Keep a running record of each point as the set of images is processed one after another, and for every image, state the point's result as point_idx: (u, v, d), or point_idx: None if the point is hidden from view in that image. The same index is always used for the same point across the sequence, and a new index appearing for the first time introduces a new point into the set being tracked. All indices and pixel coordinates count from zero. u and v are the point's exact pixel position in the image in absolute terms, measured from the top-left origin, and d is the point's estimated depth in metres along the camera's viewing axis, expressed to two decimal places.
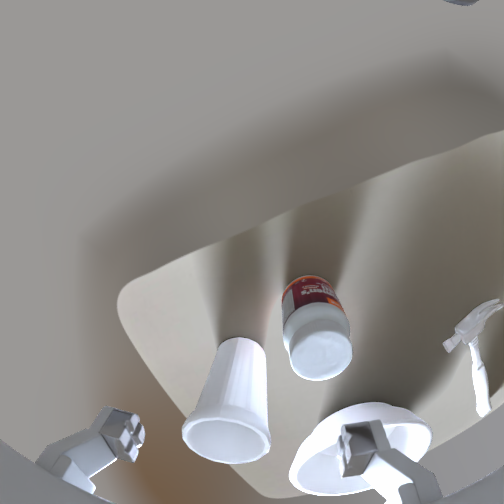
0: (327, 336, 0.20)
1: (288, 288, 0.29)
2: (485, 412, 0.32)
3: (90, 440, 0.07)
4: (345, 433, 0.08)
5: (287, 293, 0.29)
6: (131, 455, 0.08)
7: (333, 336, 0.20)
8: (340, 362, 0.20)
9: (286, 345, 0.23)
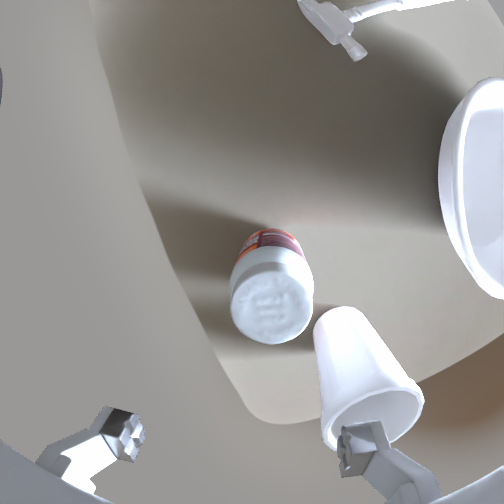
0: (238, 305, 0.17)
1: None
2: None
3: (90, 440, 0.07)
4: (345, 433, 0.08)
5: None
6: (131, 455, 0.08)
7: (239, 298, 0.17)
8: (283, 286, 0.16)
9: None
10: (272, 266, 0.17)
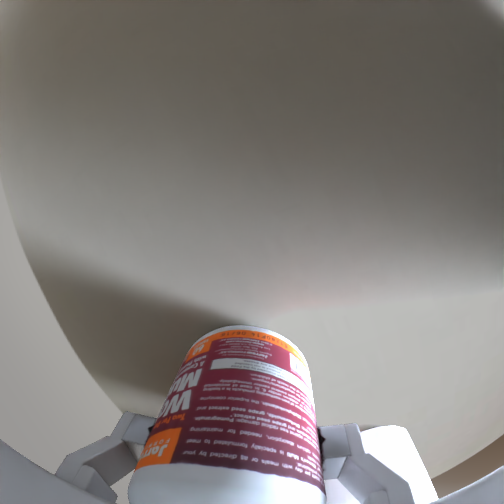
0: None
1: None
2: None
3: (112, 448, 0.07)
4: (319, 436, 0.08)
5: None
6: None
7: None
8: None
9: None
10: None
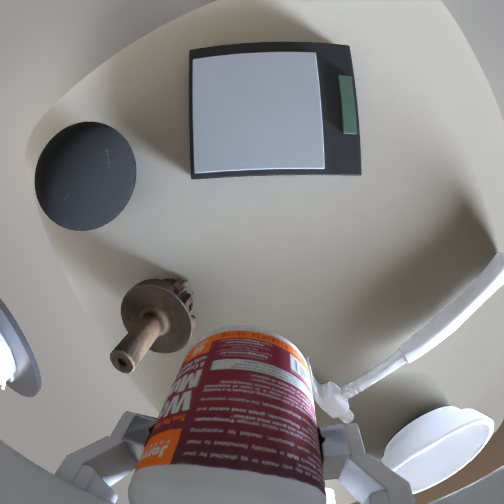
0: None
1: None
2: None
3: (113, 448, 0.07)
4: (319, 436, 0.08)
5: None
6: None
7: None
8: None
9: None
10: None
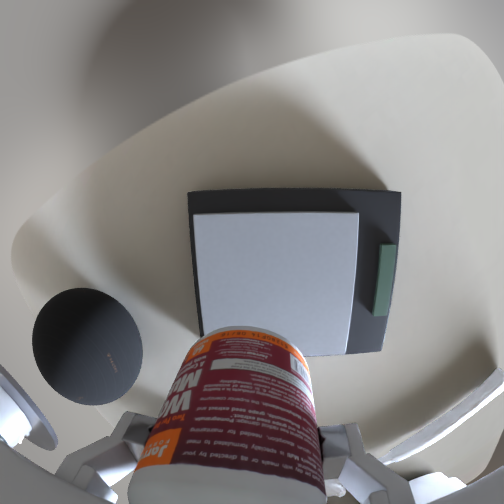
0: None
1: None
2: (501, 389, 0.21)
3: (112, 448, 0.07)
4: (319, 436, 0.08)
5: None
6: None
7: None
8: None
9: None
10: None
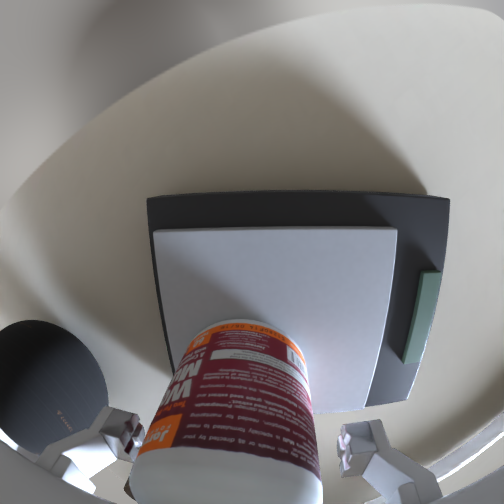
0: None
1: None
2: None
3: (89, 440, 0.07)
4: (345, 433, 0.08)
5: None
6: (131, 455, 0.08)
7: None
8: None
9: None
10: None
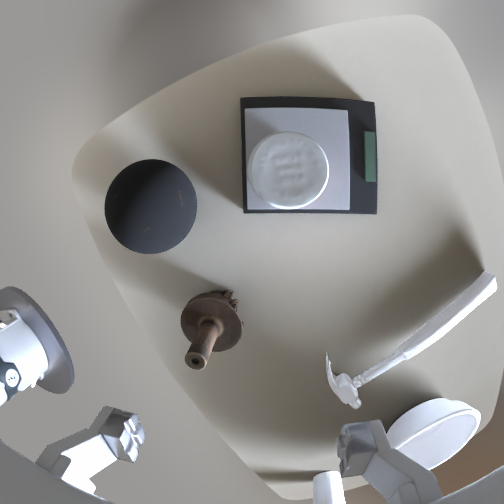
0: (259, 166, 0.17)
1: None
2: (492, 288, 0.29)
3: (89, 440, 0.07)
4: (345, 433, 0.08)
5: None
6: (131, 455, 0.08)
7: (259, 158, 0.17)
8: (299, 145, 0.17)
9: None
10: None
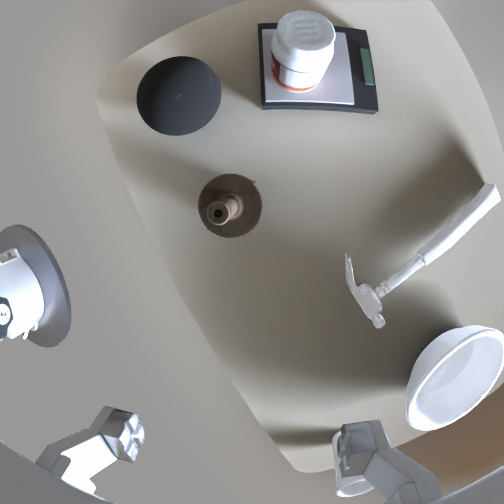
0: (283, 26, 0.18)
1: (281, 84, 0.28)
2: (495, 197, 0.29)
3: (90, 440, 0.07)
4: (345, 433, 0.08)
5: (283, 83, 0.27)
6: (131, 455, 0.08)
7: (283, 22, 0.17)
8: (312, 16, 0.17)
9: (312, 66, 0.21)
10: None
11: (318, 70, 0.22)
